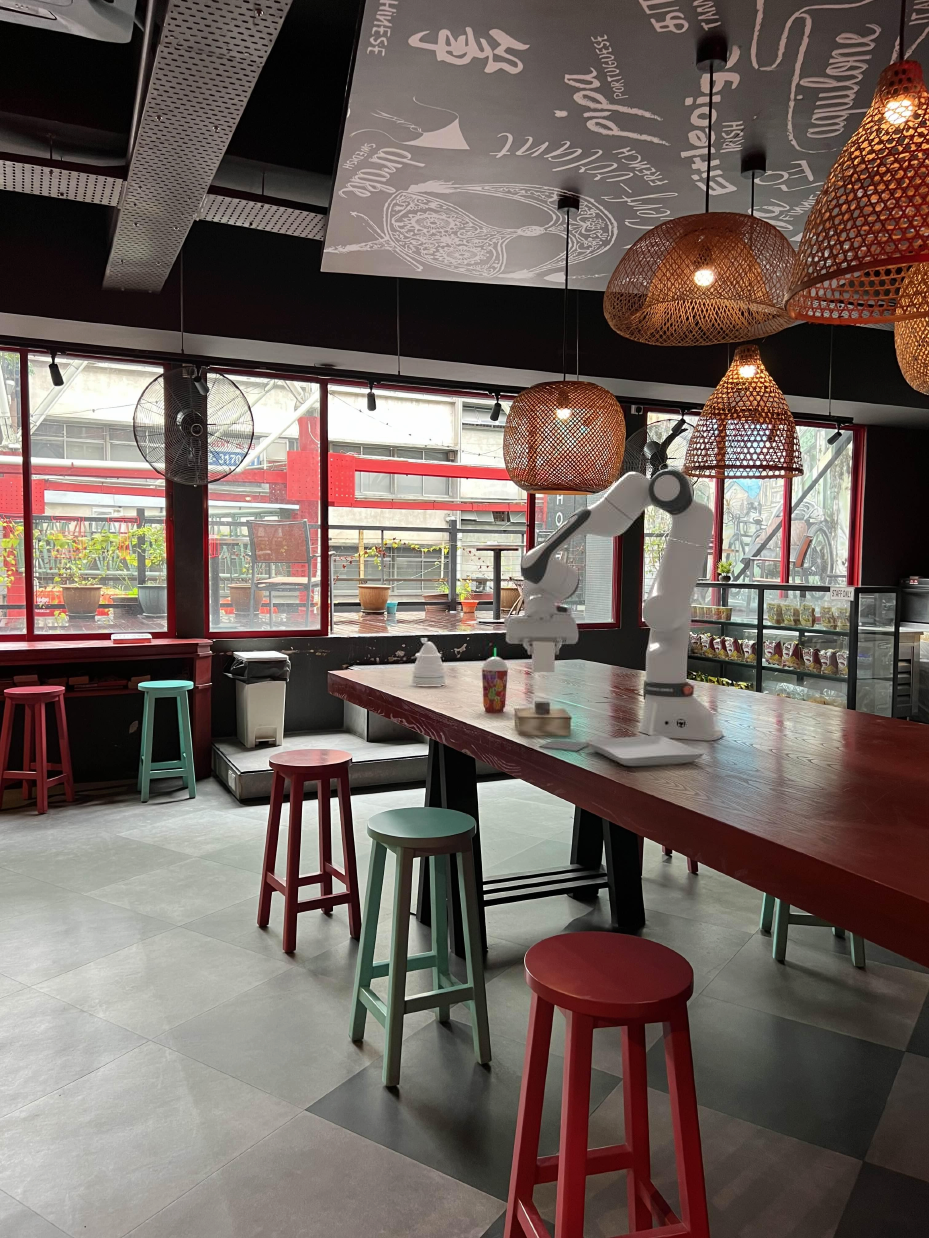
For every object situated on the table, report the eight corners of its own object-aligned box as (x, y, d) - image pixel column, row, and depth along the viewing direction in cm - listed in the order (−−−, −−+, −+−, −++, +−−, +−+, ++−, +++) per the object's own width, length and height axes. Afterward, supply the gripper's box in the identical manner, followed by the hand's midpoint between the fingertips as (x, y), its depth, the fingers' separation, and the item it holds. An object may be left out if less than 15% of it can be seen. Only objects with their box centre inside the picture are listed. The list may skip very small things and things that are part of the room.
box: (564, 725, 246) (564, 698, 245) (571, 735, 231) (571, 705, 231) (513, 725, 245) (514, 697, 245) (517, 734, 231) (518, 705, 231)
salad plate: (621, 771, 191) (622, 756, 191) (583, 752, 211) (583, 738, 211) (706, 767, 197) (706, 752, 196) (661, 748, 217) (661, 735, 217)
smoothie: (508, 709, 274) (509, 647, 273) (506, 713, 266) (507, 649, 265) (482, 709, 275) (482, 646, 274) (480, 713, 266) (480, 648, 265)
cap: (551, 669, 240) (552, 641, 240) (554, 672, 235) (554, 642, 234) (531, 669, 240) (532, 641, 240) (533, 671, 235) (534, 642, 234)
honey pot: (410, 686, 327) (410, 639, 326) (413, 682, 340) (414, 637, 339) (444, 687, 327) (444, 640, 326) (446, 682, 339) (446, 637, 338)
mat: (591, 744, 219) (591, 743, 219) (576, 751, 210) (576, 750, 210) (554, 740, 223) (554, 739, 223) (539, 747, 215) (539, 745, 215)
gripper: (504, 608, 243) (506, 645, 234) (576, 608, 244) (581, 645, 234) (503, 623, 248) (505, 660, 239) (574, 623, 248) (578, 660, 239)
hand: (543, 653), depth 236 cm, fingers closed on cap, 6 cm apart
